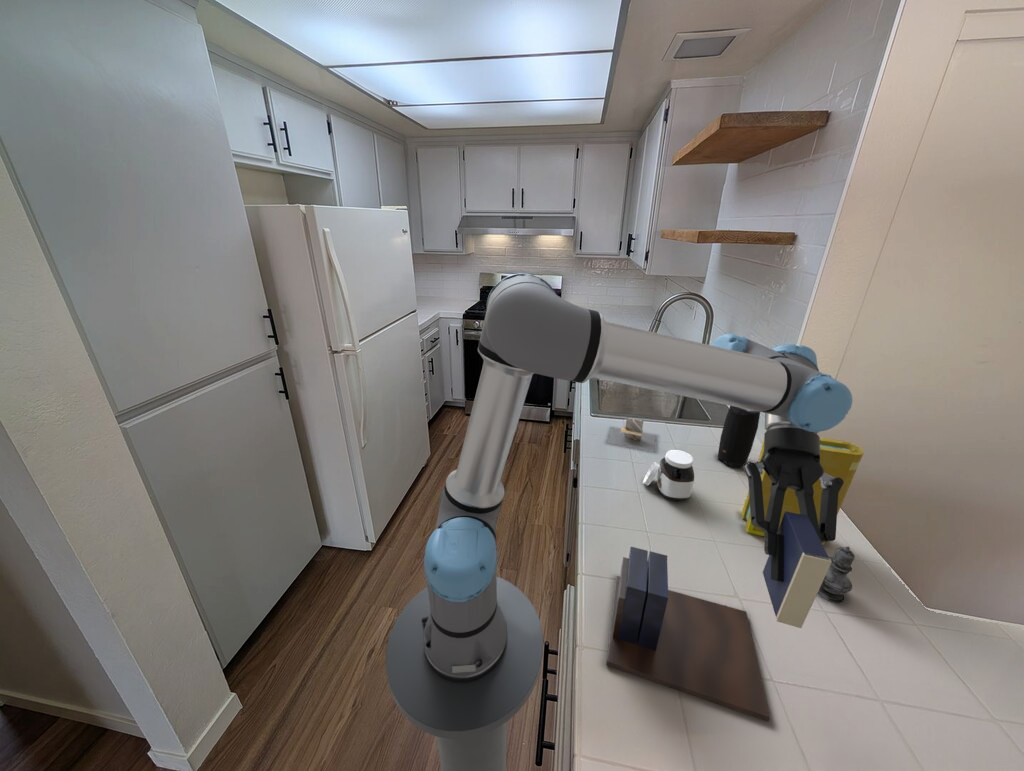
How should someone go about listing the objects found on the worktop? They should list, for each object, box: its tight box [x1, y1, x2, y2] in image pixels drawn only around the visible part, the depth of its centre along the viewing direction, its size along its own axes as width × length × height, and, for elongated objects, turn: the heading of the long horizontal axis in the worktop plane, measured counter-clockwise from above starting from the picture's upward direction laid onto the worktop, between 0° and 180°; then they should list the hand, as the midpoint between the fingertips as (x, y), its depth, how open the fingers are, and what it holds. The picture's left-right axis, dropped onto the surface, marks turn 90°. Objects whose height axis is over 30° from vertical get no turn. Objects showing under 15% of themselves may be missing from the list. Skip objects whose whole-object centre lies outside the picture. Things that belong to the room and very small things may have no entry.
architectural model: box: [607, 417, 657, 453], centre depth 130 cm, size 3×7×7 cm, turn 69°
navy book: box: [762, 511, 831, 629], centre depth 57 cm, size 3×9×13 cm, turn 161°
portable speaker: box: [717, 406, 761, 469], centre depth 116 cm, size 9×9×20 cm
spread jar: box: [642, 449, 695, 501], centre depth 105 cm, size 12×11×12 cm
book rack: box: [605, 546, 771, 722], centre depth 66 cm, size 24×18×14 cm
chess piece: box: [817, 546, 856, 604], centre depth 76 cm, size 6×6×12 cm
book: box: [740, 429, 865, 546], centre depth 88 cm, size 17×7×25 cm, turn 72°
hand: (791, 583), depth 56 cm, fingers closed on navy book, 3 cm apart
